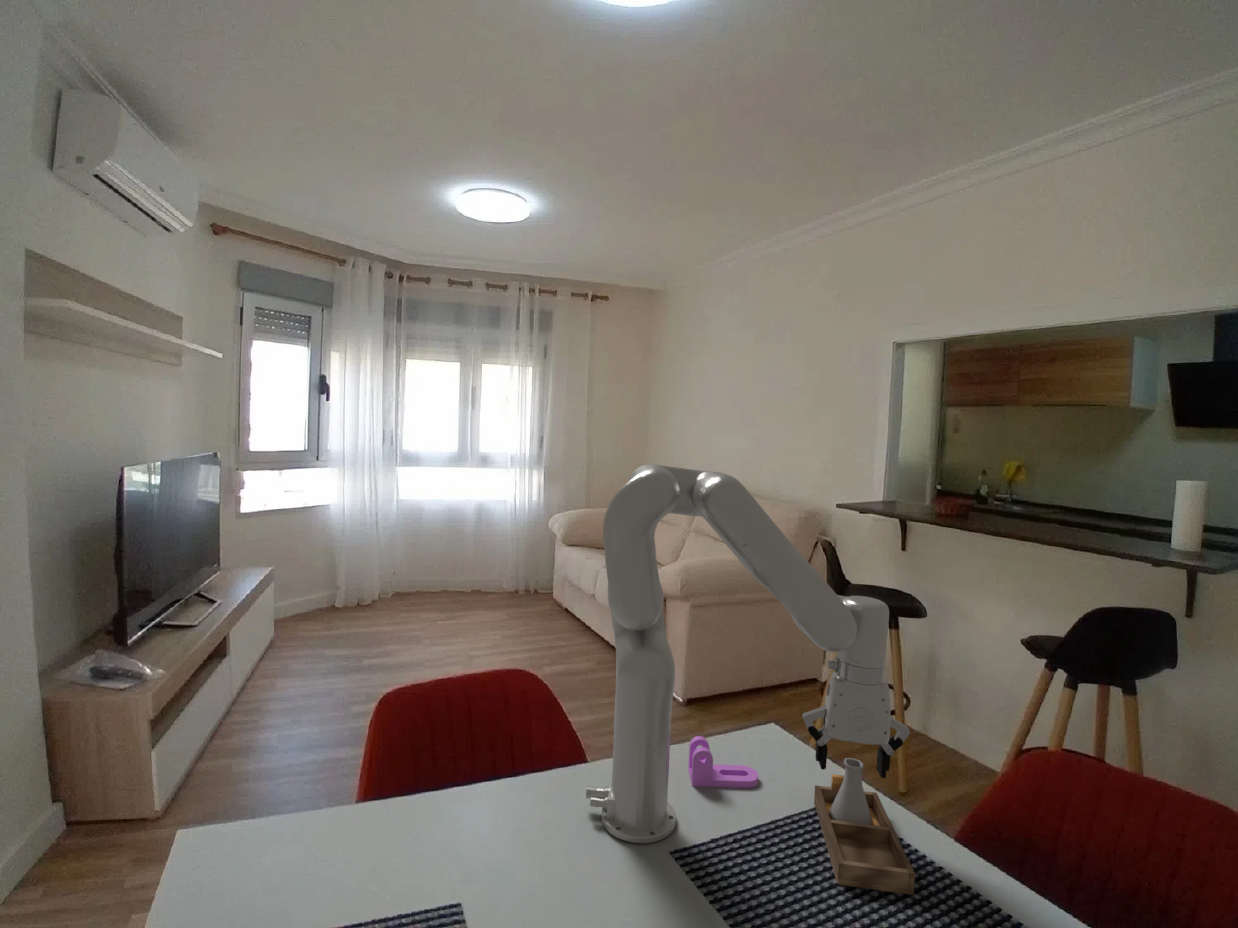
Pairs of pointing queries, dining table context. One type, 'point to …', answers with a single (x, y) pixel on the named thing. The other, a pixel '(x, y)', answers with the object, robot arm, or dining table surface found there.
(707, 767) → the bracket
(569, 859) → the dining table surface
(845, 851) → the divided wooden tray
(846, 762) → the flask
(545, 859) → the dining table surface
